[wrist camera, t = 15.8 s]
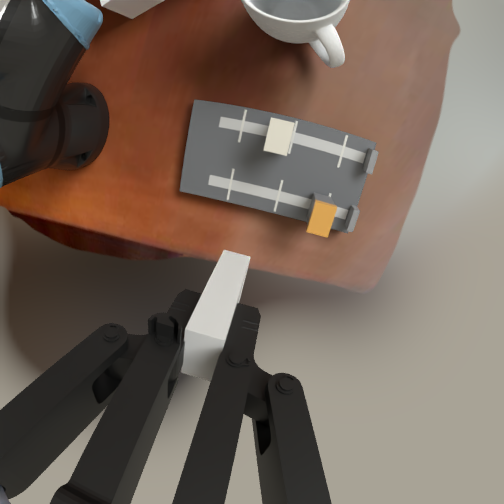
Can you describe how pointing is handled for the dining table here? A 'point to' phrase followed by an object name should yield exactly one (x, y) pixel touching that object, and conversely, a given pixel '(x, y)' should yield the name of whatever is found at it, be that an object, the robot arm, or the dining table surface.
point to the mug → (303, 24)
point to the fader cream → (279, 136)
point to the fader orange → (320, 215)
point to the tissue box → (129, 6)
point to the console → (274, 163)
